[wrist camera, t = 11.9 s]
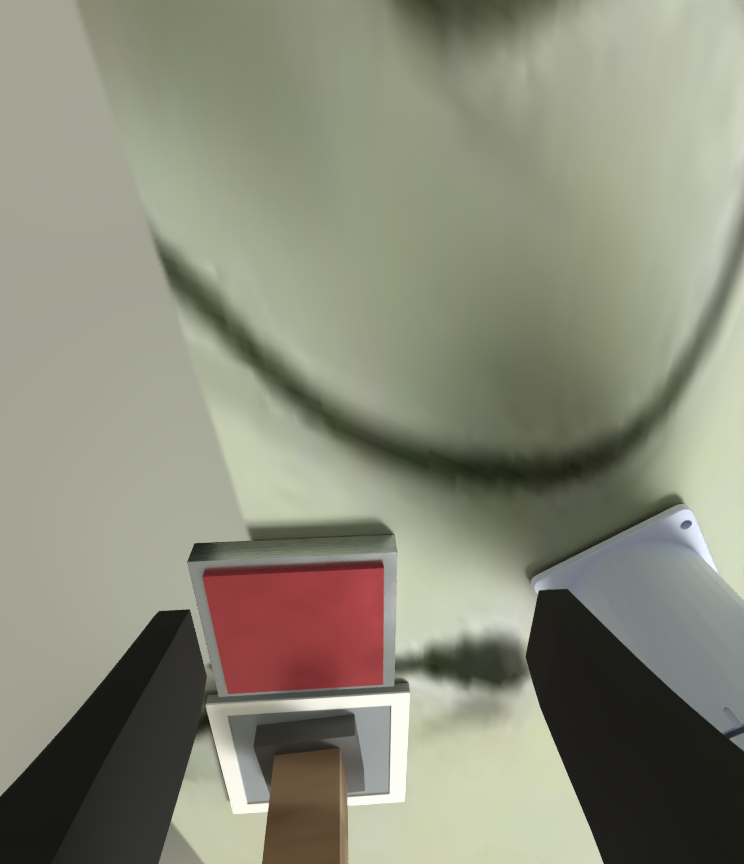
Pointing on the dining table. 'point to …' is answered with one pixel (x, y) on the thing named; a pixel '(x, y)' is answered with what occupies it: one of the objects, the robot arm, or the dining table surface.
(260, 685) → the ink pad
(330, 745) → the stamp
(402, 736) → the marked square
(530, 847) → the dining table surface
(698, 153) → the dining table surface
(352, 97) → the dining table surface
